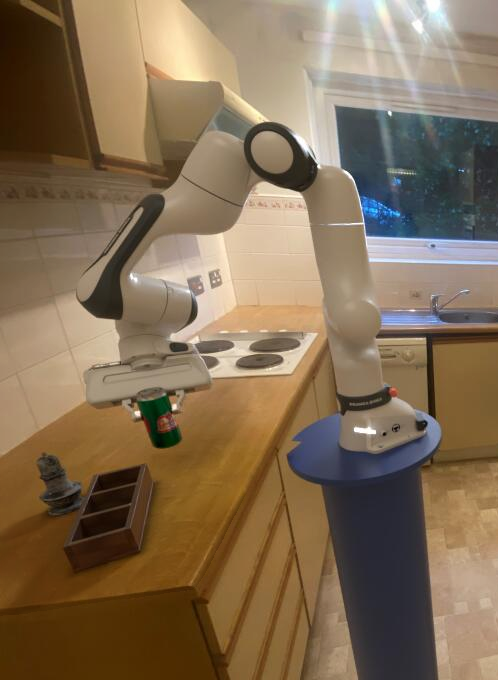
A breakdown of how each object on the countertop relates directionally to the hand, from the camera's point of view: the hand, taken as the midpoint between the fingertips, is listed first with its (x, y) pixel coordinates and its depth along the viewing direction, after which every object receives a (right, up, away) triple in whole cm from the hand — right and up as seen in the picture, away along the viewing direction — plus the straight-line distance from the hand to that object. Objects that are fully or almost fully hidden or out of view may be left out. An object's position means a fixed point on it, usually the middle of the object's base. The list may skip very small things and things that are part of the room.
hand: (158, 416), depth 87 cm
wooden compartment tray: (0, -19, -8) cm, 20 cm away
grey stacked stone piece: (-14, -17, -4) cm, 22 cm away
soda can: (0, -6, +3) cm, 7 cm away
